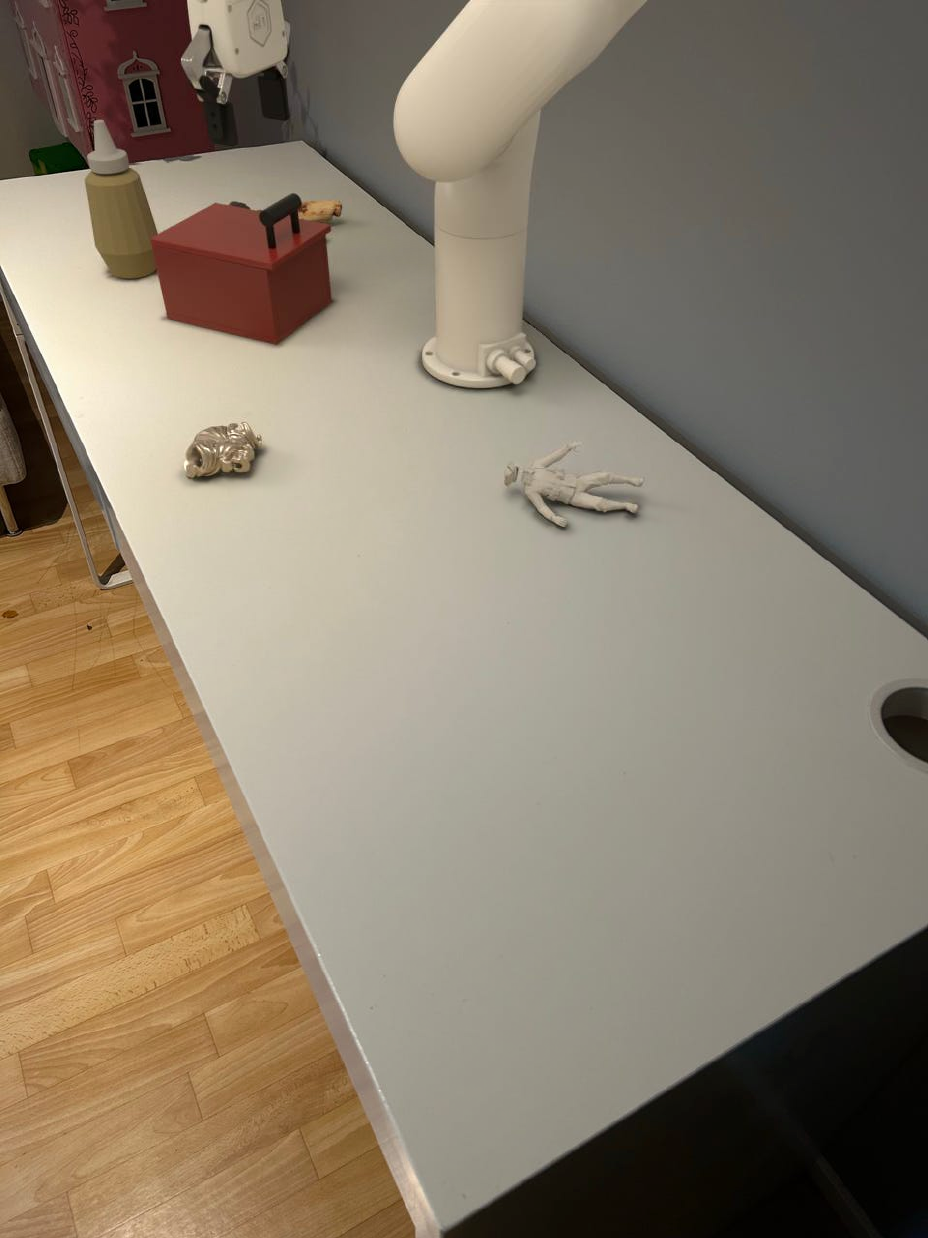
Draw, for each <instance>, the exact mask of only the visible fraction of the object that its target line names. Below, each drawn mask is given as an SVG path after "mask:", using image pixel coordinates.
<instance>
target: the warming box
mask: <svg viewBox="0 0 928 1238" xmlns="http://www.w3.org/2000/svg"><path fill="white" fill-rule="evenodd" d="M152 250H153V255H154V259H155V264H156V273H157V278H158V282H159V286H160V291H161V295H162V300H163V304H164V309H165V314H166V318H167V319H168V320H172V321H176V322H181V323H185V324H190V325H193V326H196V327H202V328H206V329H210V330H214V331H219V332H222V333H227V334H231V335H235V336H239V337H243V338H244V337H245V338H248V339H251V340H256V341H260V342H264V343H269V344H272V345H275V346H276V345H277V346H278V345H279V344H280V343H281V342H283V340H285V339H286V338H288V337H289V336H290V335H291V334H293V333H294V332H295V331H296V330H298V329H299V328H300V327H301V326H303V325H304V324H305V323H307V322H308V321H309V320H311V319H312V318H314V317H315V316H316V315H317V314H319V312H321V311H322V310H323V309H326V307H327V306H329V305H331V303H332V302H333V297H332V289H331V278H330V267H329V254H328V243H327V234H326V235H325V236H323V237H322V238H320V239H319V240H317V241H316V242H314V243H313V244H311V245H310V246H308V247H307V248H306V249H304V250H303V251H301V252H300V253H298V254H297V255H295V256H294V257H292V258H291V259H289V260H288V261H286V262H285V263H283V264H282V265H280V266H279V267H277V268H276V269H274V270H273V271H271V270H267V269H262V268H257V267H253V266H248V265H243V264H238V263H234V262H229V261H224V260H220V259H215V258H210V257H205V256H201V255H196V254H191V253H187V252H182V251H177V250H172V249H168V248H163V247H158V246H154V245H152Z"/></svg>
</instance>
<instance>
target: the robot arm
mask: <svg viewBox="0 0 928 1238" xmlns="http://www.w3.org/2000/svg"><path fill="white" fill-rule="evenodd" d="M647 1H648V0H468V2H467V3H466V4H465V6H464V7H463V8H462V9H461V11H459V13H458V14H457V15H456V17H455V18H454V19H453V20H452V22H450V24H449V25H448V26H447V28H446V29H445V30H444V32H443V33H442V34H441V35H440V36H439V38H437V40H436V41H435V42H434V44H433V45H432V46H431V47H430V48H429V50H428V51H427V52H426V53H425V55H424V56H423V57H422V58H421V59H420V61H419V62H418V63H417V64H416V65H415V67H414V68H413V69H412V71H411V72H410V73H409V74H408V76H407V78H406V79H405V81H404V82H403V84H402V86H401V87H400V89H399V92H398V94H397V96H396V101H395V104H394V109H393V116H392V117H393V121H392V123H393V126H392V127H393V133H394V139H395V143H396V145H397V149H398V151H399V153H400V155H401V157H402V158H403V160H404V162H405V163H406V164H407V165H408V167H410V168H411V169H412V170H413V171H414V172H415V173H417V174H418V175H419V176H421V177H423V178H425V179H427V180H430V181H434V182H435V183H434V202H433V203H434V205H433V207H434V221H433V223H434V226H433V227H434V228H433V229H434V231H433V232H434V235H433V236H434V292H435V293H434V297H435V299H434V300H435V301H434V302H435V336H434V337H432V338H430V339H429V340H428V341H427V342H426V343H425V345H423V348H422V352H421V357H422V358H421V359H422V365H423V367H424V369H425V371H427V373H428V374H429V375H431V376H432V377H433V378H435V379H437V380H438V381H440V382H444V383H446V384H449V385H452V386H457V387H462V388H470V389H490V388H497V387H502V386H507V385H510V384H514V385H518V384H520V383H522V382H523V381H524V380H525V378H526V376H527V375H528V374H529V373H530V372H531V371H533V370H534V369H535V367H536V365H537V360H536V359H535V351H534V348H533V346H531V344H530V343H529V342H528V341H527V339H526V337H527V335H526V334H525V333H524V332H523V315H524V299H525V278H526V261H527V242H528V225H529V212H530V195H531V185H532V184H531V183H532V174H533V166H534V159H535V153H536V147H537V140H538V136H539V129H540V123H541V122H540V121H541V120H540V119H541V114H542V113H541V112H542V109H543V107H545V105H546V104H548V102H549V101H550V100H551V99H552V98H553V97H554V96H555V95H556V94H557V93H558V92H559V91H560V90H561V89H563V87H564V86H565V85H567V83H569V82H570V81H571V80H573V79H574V78H575V77H576V76H578V75H579V74H580V73H582V72H583V71H584V70H585V69H587V68H588V67H589V66H590V65H592V63H594V61H596V59H598V57H600V55H601V54H602V52H604V50H605V49H606V47H607V46H608V45H609V43H610V42H611V41H612V40H613V38H614V37H615V36H616V35H617V34H618V33H619V31H620V30H621V29H622V28H623V27H624V26H625V25H626V24H627V22H628V21H629V20H630V19H631V18H632V17H633V16H634V15H635V14H636V13H637V12H638V11H639V10H640V9H641V8H642V7H643V6H644V5H645V4H646V3H647ZM186 2H187V4H186V5H187V10H188V11H187V12H188V20H189V28H190V34H191V41H190V43H189V44H188V46H187V48H186V49H185V51H184V52H183V54H182V56H181V58H180V64H181V67H182V69H183V71H184V73H185V74H186V77H187V79H188V80H189V86H190V87H191V89H193V91H194V92H195V93H196V96H197V99H198V101H200V102H202V106H203V111H204V117H205V123H206V129H207V134H208V140H209V142H210V143H212V144H214V145H220V146H226V147H232V148H233V147H235V146H238V144H239V137H238V136H239V135H238V129H237V124H236V116H235V110H234V104H233V101H228V99H229V95H230V91H231V87H232V82H233V78H237V79H244V78H248V77H250V76H252V75H255V74H258V73H260V75H258V76H257V85H258V93H259V101H260V108H261V109H260V110H261V115H262V117H263V118H265V119H269V120H275V121H282V122H286V121H289V120H290V117H291V115H290V107H289V96H288V88H287V79H286V78H287V77H288V75H289V74H288V73H289V69H288V66H287V62H288V59H289V56H290V47H289V46H290V45H289V44H290V36H291V25H290V23H289V22H288V21H287V20H285V19H284V11H283V5H282V0H186ZM214 78H215V79H219V80H218V84H217V85H216V84H215V83H214Z"/></svg>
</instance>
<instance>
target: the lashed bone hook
mask: <svg viewBox="0 0 928 1238" xmlns="http://www.w3.org/2000/svg"><path fill="white" fill-rule="evenodd" d="M228 205H230V206H235V207H240V208H246V209H251V207H249V206H248V205H247V204H246V203H244V202H240V201H237V200H236V201H234V200H233V201H230V202H229V203H228ZM262 210H263V209H256V211H262ZM342 210H343V204H342V203H341V201H338V200H331V199H330V200H329V199H327V200H317V201H316V200H310V201H304V202H303V201H302V206H301V208H300V209H299V210H298V217H299V219H303V220H308V221H314V222H319V223H324V224H325V223H327V222H330V221H332V219H333V217H336V218H340V217H341V215H342ZM287 217H290V215H289V216H287Z"/></svg>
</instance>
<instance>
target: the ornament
mask: <svg viewBox="0 0 928 1238" xmlns="http://www.w3.org/2000/svg"><path fill="white" fill-rule="evenodd" d="M239 426H240V428H241V429H240V430H238V429H237V428H238V427H239ZM262 443H263V437H262V434H258V435H257V436H256V435H255V433H254V431H253V430H252V428H251V427H250V425H249V424H248V423H247V422H246V421H241V422H240V424H238V423H237V422H236V423H235V422H233V423H229V424H228V425H227V426H226V425H218V426H209V427H207V428H204V429H202V430H201V431H199V432H198V433H196V435H195V437H194V440H193V441H192V443H191V444H190V445H189V446H188V448H187V450H186V452H185V454H184V457H183V470H184V473H185V474H186V476H188V477H189V478H195V477H198V478H200V477H210V476H213V475H215V474H217V473H218V472H219V471H220V470H221V471H222V472H223V473H229V472H231V471H233V470H234V472H237V473H244V472H249V471H250V470H251V462H252V461H253V460H254V459H255V451H254V450H255V449H256V450H257V449H260V448H261V447H262Z"/></svg>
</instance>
